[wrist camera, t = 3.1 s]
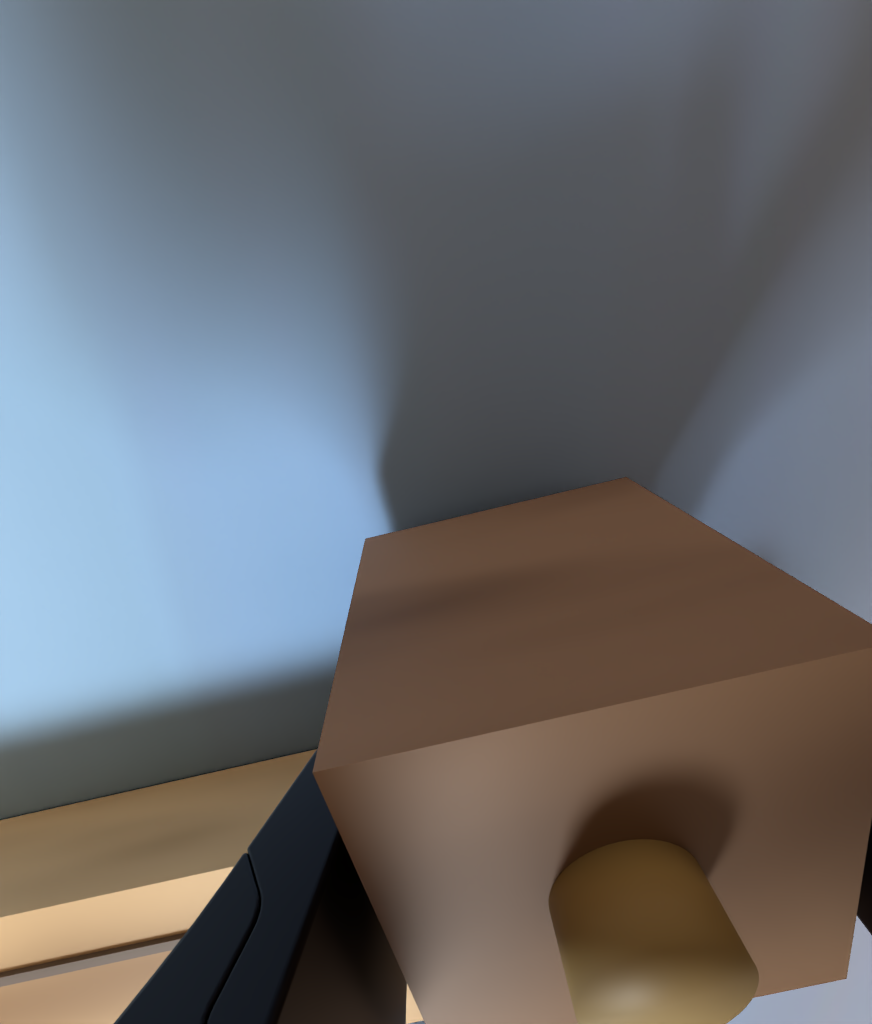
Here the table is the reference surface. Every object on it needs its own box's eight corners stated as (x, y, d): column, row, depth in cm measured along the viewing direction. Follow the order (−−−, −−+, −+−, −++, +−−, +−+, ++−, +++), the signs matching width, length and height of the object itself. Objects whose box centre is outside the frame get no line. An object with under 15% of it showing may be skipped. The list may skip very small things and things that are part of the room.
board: (732, 838, 13) (803, 947, 11) (-31, 1001, 14) (-123, 1139, 12) (733, 655, 11) (823, 742, 9) (-184, 861, 12) (-339, 996, 9)
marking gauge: (655, 821, 12) (871, 1236, 6) (467, 862, 12) (516, 1302, 6) (625, 477, 8) (1024, 716, 3) (365, 539, 9) (288, 875, 3)
